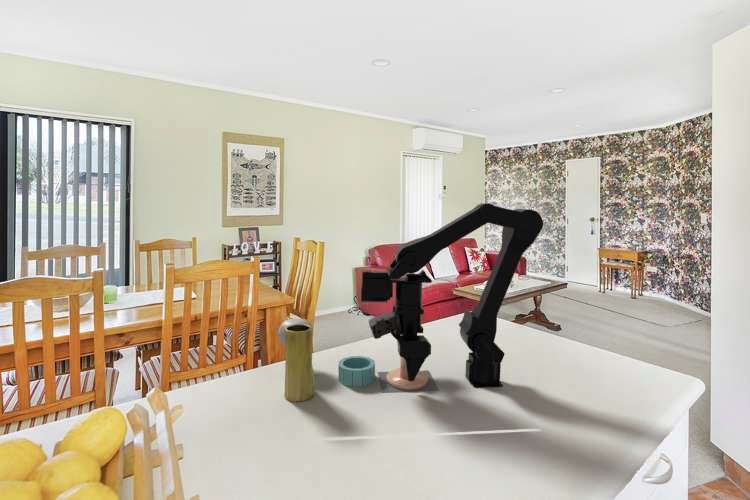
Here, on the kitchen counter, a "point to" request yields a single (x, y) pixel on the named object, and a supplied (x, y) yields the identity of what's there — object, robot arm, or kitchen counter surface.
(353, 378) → the bowl
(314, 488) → the kitchen counter surface
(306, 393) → the vase
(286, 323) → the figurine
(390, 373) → the lid
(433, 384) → the mat
